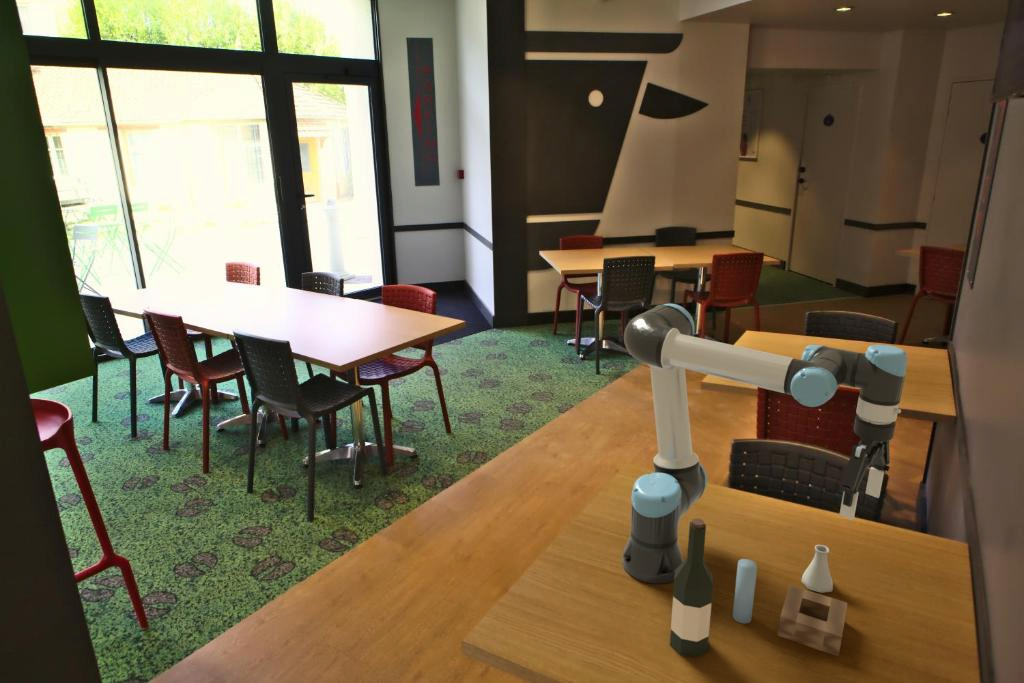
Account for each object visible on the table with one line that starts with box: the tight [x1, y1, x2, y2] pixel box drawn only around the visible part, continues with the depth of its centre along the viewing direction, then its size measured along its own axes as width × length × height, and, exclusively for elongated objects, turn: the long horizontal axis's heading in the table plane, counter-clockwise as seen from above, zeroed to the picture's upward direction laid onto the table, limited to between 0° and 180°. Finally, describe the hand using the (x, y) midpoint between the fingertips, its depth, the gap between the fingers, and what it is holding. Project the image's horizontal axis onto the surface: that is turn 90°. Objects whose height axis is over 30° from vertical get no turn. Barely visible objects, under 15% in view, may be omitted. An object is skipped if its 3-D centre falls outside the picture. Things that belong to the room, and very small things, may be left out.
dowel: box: [732, 558, 758, 624], centre depth 145 cm, size 4×4×14 cm
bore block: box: [777, 585, 848, 657], centre depth 142 cm, size 12×12×5 cm
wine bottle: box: [669, 518, 714, 659], centre depth 135 cm, size 8×8×30 cm
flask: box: [801, 544, 834, 594], centre depth 156 cm, size 7×7×10 cm
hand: (859, 506), depth 143 cm, fingers open, 13 cm apart
